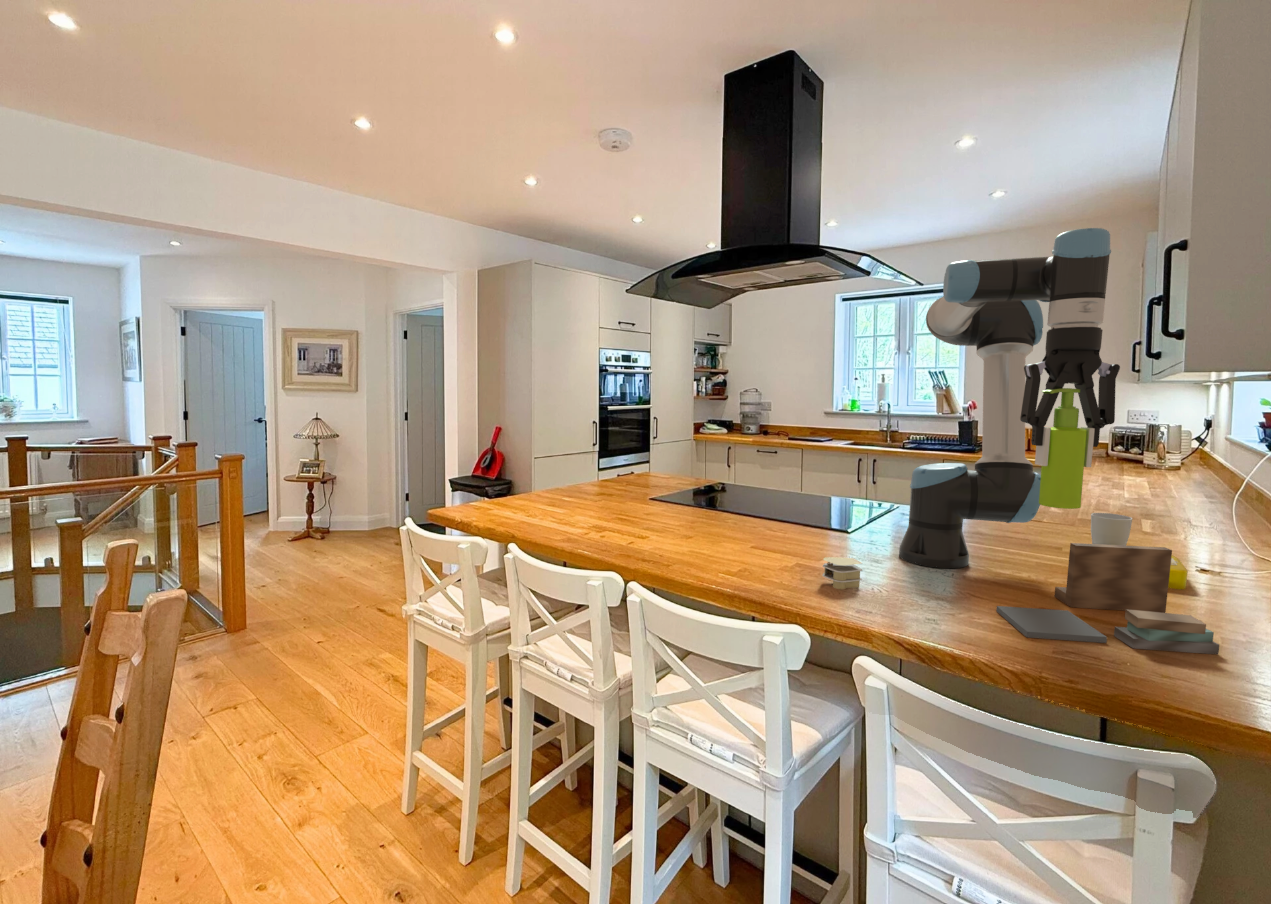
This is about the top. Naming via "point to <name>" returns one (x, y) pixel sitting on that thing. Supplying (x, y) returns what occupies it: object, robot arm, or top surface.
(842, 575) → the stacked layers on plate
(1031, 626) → the slate mat
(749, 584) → the top surface
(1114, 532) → the cup
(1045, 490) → the soap dispenser
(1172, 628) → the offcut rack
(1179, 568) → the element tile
